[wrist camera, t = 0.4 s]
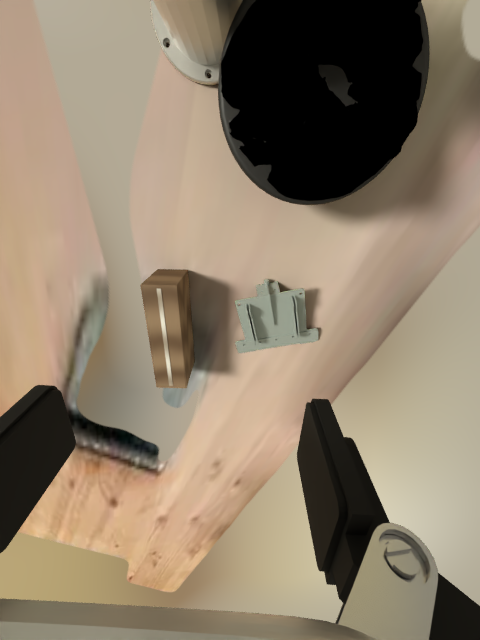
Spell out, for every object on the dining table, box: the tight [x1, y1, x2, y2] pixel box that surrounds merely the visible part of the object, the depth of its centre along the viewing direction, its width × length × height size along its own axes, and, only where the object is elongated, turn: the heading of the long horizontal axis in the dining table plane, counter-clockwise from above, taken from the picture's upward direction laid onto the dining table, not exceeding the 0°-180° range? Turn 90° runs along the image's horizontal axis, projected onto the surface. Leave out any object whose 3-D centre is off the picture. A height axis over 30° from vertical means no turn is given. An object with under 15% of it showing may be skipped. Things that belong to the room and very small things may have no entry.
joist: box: [141, 269, 195, 388], centre depth 44 cm, size 18×5×8 cm, turn 179°
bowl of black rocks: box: [218, 0, 429, 205], centre depth 26 cm, size 20×20×19 cm
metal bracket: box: [235, 279, 318, 353], centre depth 47 cm, size 14×6×15 cm
